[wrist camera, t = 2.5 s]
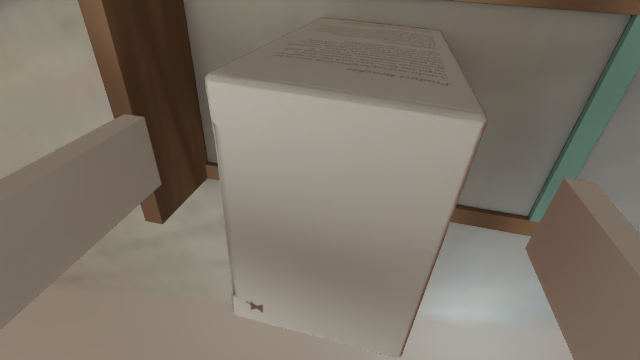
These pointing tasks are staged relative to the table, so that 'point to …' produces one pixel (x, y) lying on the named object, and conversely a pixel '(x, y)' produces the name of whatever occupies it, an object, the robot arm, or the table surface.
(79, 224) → the robot arm
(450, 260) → the table surface
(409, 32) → the small box
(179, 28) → the bay
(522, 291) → the table surface
